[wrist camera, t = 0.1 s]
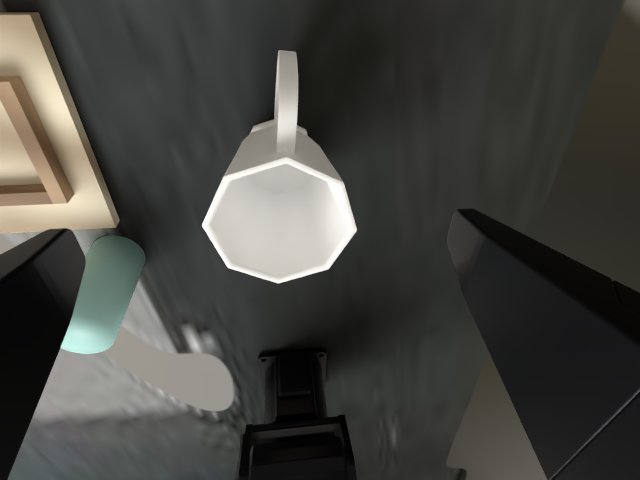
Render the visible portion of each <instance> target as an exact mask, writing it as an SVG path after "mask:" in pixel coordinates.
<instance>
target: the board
mask: <svg viewBox="0 0 640 480" xmlns="http://www.w3.org/2000/svg"><path fill="white" fill-rule="evenodd" d="M119 221H120V220H119V217H118V215H117V212H116V209H115V207H114V204H113V202H112V199H111V197H110V194H109V191H108V189H107V186H106V184H105V181H104V179H103V176H102V174H101V171H100V168H99V166H98V163H97V161H96V158H95V156H94V153H93V150H92V148H91V145H90V143H89V140H88V138H87V135H86V133H85V130H84V127H83V125H82V122H81V120H80V117H79V115H78V112H77V109H76V107H75V104H74V102H73V99H72V97H71V94H70V92H69V89H68V86H67V84H66V81H65V79H64V76H63V74H62V71H61V68H60V66H59V63H58V61H57V58H56V56H55V53H54V51H53V48H52V45H51V43H50V40H49V38H48V35H47V33H46V30H45V27H44V25H43V22H42V20H41V17H40V15H39V12H0V233H20V232H40V231H46V230H48V229H59V228H68V229H70V230H80V229H99V228H116V227H117V225H118V223H119Z"/></svg>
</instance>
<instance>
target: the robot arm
mask: <svg viewBox="0 0 640 480" xmlns="http://www.w3.org/2000/svg"><path fill="white" fill-rule="evenodd" d="M447 245H448V249H449V252H450V255H451V258H452V261H453V264H454V267H455V271H456V274H457V277H458V280H459V283H460V286H461V289H462V292H463V295H464V297H465V300H466V302H467V304H468V306H469V309H470V311H471V313H472V315H473V317H474V320H475V322H476V324H477V326H478V328H479V331H480V333H481V335H482V337H483V339H484V342H485V344H486V346H487V348H488V350H489V352H490V354H491V357H492V359H493V361H494V363H495V366H496V368H497V370H498V372H499V374H500V377H501V379H502V381H503V383H504V385H505V387H506V390H507V392H508V394H509V396H510V398H511V401H512V403H513V405H514V407H515V409H516V412H517V414H518V416H519V418H520V420H521V423H522V425H523V427H524V429H525V431H526V433H527V436H528V438H529V440H530V442H531V444H532V447H533V449H534V451H535V453H536V455H537V458H538V460H539V462H540V464H541V466H542V469H543V471H544V473H545V475H546V477H547V479H548V480H640V292H638V291H636V290H634V289H632V288H630V287H628V286H626V285H624V284H622V283H620V282H618V281H616V280H614V281H612V279H611V278H610V277H608V276H606V275H604V274H602V273H600V272H598V271H596V270H594V269H592V268H590V267H588V266H586V265H584V264H582V263H580V262H578V261H576V260H574V259H572V258H570V257H567V256H566V255H564V254H562V253H560V252H558V251H556V250H554V249H552V248H550V247H548V246H546V245H544V244H542V243H540V242H538V241H536V240H534V239H532V238H530V237H528V236H526V235H524V234H522V233H520V232H518V231H516V230H514V229H512V228H510V227H508V226H506V225H504V224H502V223H500V222H498V221H496V220H494V219H492V218H490V217H488V216H487V215H485V214H483V213H481V212H479V211H477V210H475V209H458V210H456V211H455V212H454V214H453V217H452V220H451V224H450V227H449V231H448V235H447ZM85 265H86V259H85V256H84V253H83V251H82V249H81V247H80V245H79V243H78V241H77V239H76V237H75V235H74V233H73V232H72V231H71V230H70V229H68V228H59V229H48V230H46V231H44V232H42V233H40V234H38V235H36V236H34V237H33V238H31V239H29V240H27V241H25V242H23V243H21V244H19V245H18V246H16V247H14V248H12V249H10V250H8V251H6V252H5V253H3V254H1V255H0V480H7V479H8V477H9V474H10V472H11V469H12V467H13V464H14V462H15V459H16V457H17V454H18V452H19V449H20V447H21V444H22V442H23V439H24V437H25V434H26V432H27V429H28V427H29V424H30V422H31V419H32V417H33V414H34V412H35V409H36V407H37V404H38V402H39V399H40V397H41V394H42V392H43V390H44V387H45V385H46V382H47V380H48V377H49V375H50V372H51V370H52V367H53V365H54V362H55V360H56V357H57V355H58V352H59V350H60V347H61V345H62V342H63V340H64V337H65V335H66V332H67V330H68V327H69V324H70V321H71V318H72V315H73V311H74V307H75V304H76V300H77V296H78V292H79V289H80V285H81V281H82V277H83V274H84V270H85ZM326 359H327V354H326V350H325V349H312V350H300V351H288V352H276V353H264V354H260V355H259V357H258V362H259V368H260V375H261V381H262V388H263V393H265V411H264V424H259V425H253V424H249V425H246V431H245V433H244V434H243V435H241V442H240V455H239V461H238V465H237V470H236V474H235V479H234V480H357V478H356V469H355V462H354V457H353V452H352V447H351V442H350V438H349V433H348V428H347V424H346V419H345V415H338V416H336V417H328V416H327V408H326V400H325V392H324V388H325V385H326Z"/></svg>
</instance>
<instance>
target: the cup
mask: <svg viewBox="0 0 640 480" xmlns="http://www.w3.org/2000/svg"><path fill="white" fill-rule="evenodd" d="M297 112H298V64H297V55H296V52H293V51H284V50H279V51H278V60H277V74H276V90H275V109H274V119H273V120H270V121H267V122H264V123H261V124H258V125H254V126H253V128H252V130H251V132H250V135H248V136H247V137H246V138H245V139H244V140H243V141H242V143H241V145H240V147H239V149H238V151H237V153H236V155H235V157H234V159H233V160H232V162H231V164H230V165H229V167H228V169H227V171H226V173H225V175H224V177H223V179H222V181H221V184H220V186H219V188H218V190H217V193H216V195H215V197H214V199H213V202H212V204H211V206H210V208H209V211H208V213H207V215H206V217H205V220H204V222H203V224H202V226H203V228H204V230H205V231H206V233H207V235H208V236H209V238H210V240H211V241H212V243H213V244H214V246H215V248H216V249H217V251H218V253H219V254H220V256H221V257H222V259H223V261H224V262H225V264H226V266H227V267H228V268H230V269H234V270H237V271H240V272H243V273H246V274H250V275H253V276H256V277H259V278H263V279H266V280H269V281H272V282H275V283H281V282H285V281H288V280H292V279H296V278H299V277H303V276H306V275H310V274H313V273H317V272H320V271H324V270H328V269H329V268H330V267H331V265H332V264H333V263H334V261H335V260H336V258H337V257H338V256H339V254H340V253H341V252H342V250H343V249H344V248H345V246H346V245H347V243H348V242H349V241H350V239H351V238H352V237H353V235H354V234H355V232H356V231H357V229H356V225H355V221H354V218H353V214H352V211H351V207H350V203H349V200H348V196H347V193H346V189H345V186H344V182H343V181H342V179H341V178H340V176H339V175H338V173H337V172H336V170H335V169H334V167H333V166H332V165H331V163H330V162H329V160H328V159H327V157H326V155H325V154H324V152H323V151H322V149H321V147H320V146H319V145H318V144H317V143H316V142H314V141H313V140H312V139H311V138H310V137H309V136H308V135H307V131H306V129H304V128H302V127H300V126H298V125H297Z"/></svg>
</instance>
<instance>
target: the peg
mask: <svg viewBox="0 0 640 480" xmlns="http://www.w3.org/2000/svg"><path fill="white" fill-rule="evenodd" d="M85 259H86V265H85V270H84V274H83V277H82V281H81V285H80V289H79V292H78V296H77V300H76V304H75V307H74V311H73V315H72V318H71V321H70V324H69V327H68V330H67V332H66V335H65V337H64V340H63V342H62V345H61V347H60V348H62V349H65V350H68V351H71V352H75V353H83V354H92V353H98V352H102V351H104V350H107V349H108V348H110V347H111V346H112V345H113V343H114V341H115V338H116V336H117V333H118V330H119V328H120V325H121V323H122V320H123V318H124V315H125V313H126V310H127V308H128V305H129V302H130V300H131V297H132V295H133V292H134V290H135V287H136V285H137V282H138V279H139V277H140V274H141V272H142V269H143V267H144V264H145V261H146V256H145V253H144V251H143V249H142V248H141V247H140V246H139V245H138V244H137V243H135V242H134V241H132V240H130V239H128V238H125V237H122V236H116V235H109V236H103V237H101V238H99V239H97V240H96V241H95V242H94V243H93V244H92V246H91V248H90V249H89V251H88V253H87V254H86V256H85Z"/></svg>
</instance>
